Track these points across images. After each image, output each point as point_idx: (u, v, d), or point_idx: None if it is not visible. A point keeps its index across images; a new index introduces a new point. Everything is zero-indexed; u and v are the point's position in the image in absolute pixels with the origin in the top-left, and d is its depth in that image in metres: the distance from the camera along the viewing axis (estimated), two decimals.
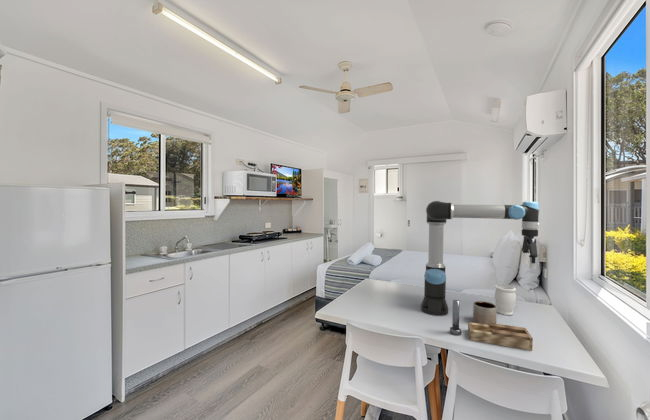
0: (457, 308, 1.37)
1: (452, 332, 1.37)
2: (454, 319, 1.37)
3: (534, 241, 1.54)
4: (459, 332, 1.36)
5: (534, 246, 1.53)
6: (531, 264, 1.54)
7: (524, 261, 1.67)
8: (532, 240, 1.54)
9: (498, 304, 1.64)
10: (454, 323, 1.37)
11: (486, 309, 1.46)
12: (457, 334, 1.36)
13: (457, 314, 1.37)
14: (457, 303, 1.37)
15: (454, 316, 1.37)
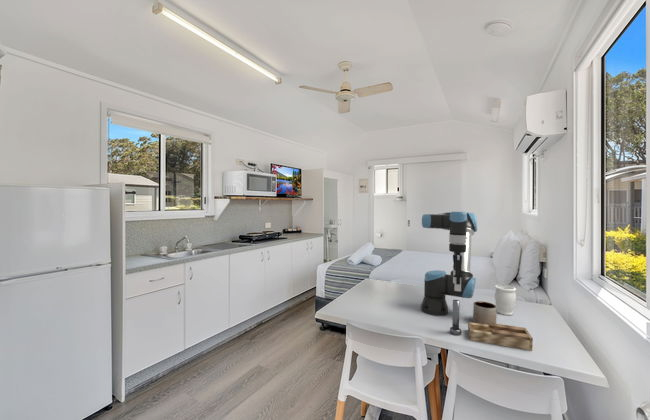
0: (457, 308, 1.37)
1: (452, 332, 1.37)
2: (454, 319, 1.37)
3: (459, 258, 1.31)
4: (459, 332, 1.36)
5: (459, 264, 1.30)
6: (456, 285, 1.31)
7: (454, 280, 1.44)
8: (457, 257, 1.31)
9: (498, 304, 1.64)
10: (454, 323, 1.37)
11: (486, 309, 1.46)
12: (457, 334, 1.36)
13: (457, 314, 1.37)
14: (457, 303, 1.37)
15: (454, 316, 1.37)
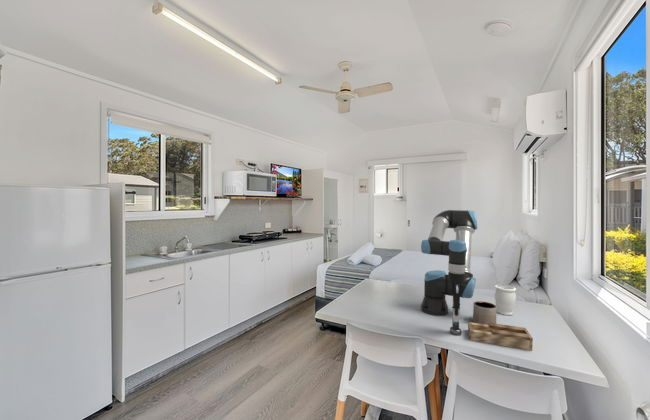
0: None
1: (452, 332, 1.37)
2: None
3: (458, 292, 1.32)
4: (459, 332, 1.36)
5: (457, 297, 1.33)
6: (454, 316, 1.36)
7: None
8: (456, 291, 1.32)
9: (498, 304, 1.64)
10: (454, 323, 1.37)
11: (486, 309, 1.46)
12: (457, 334, 1.36)
13: None
14: None
15: None
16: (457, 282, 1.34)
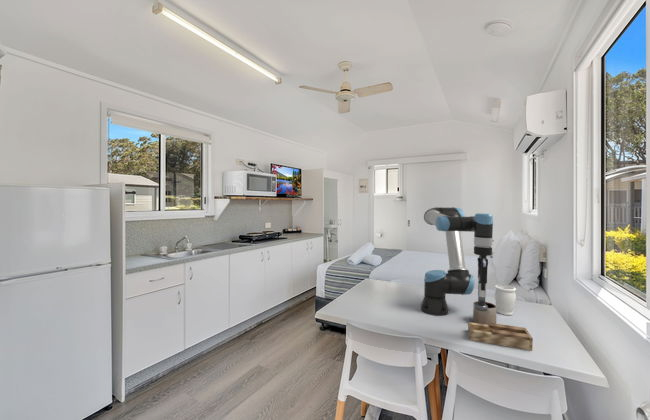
0: None
1: (478, 308, 1.33)
2: None
3: (485, 266, 1.28)
4: (486, 308, 1.32)
5: (485, 271, 1.29)
6: (481, 291, 1.32)
7: None
8: (483, 265, 1.28)
9: (498, 304, 1.64)
10: (480, 299, 1.33)
11: None
12: (484, 310, 1.32)
13: None
14: None
15: None
16: (484, 256, 1.30)
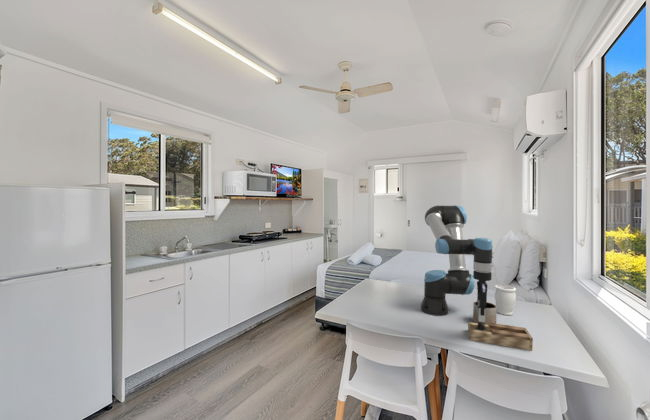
0: None
1: None
2: None
3: (485, 291, 1.28)
4: None
5: (484, 297, 1.29)
6: (480, 316, 1.33)
7: None
8: (483, 290, 1.29)
9: (498, 304, 1.64)
10: (480, 323, 1.34)
11: (486, 309, 1.46)
12: None
13: None
14: None
15: None
16: (483, 281, 1.31)
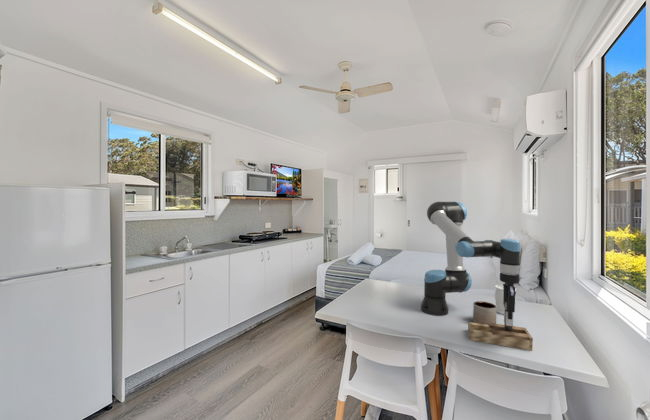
0: None
1: None
2: None
3: (513, 294, 1.24)
4: None
5: (512, 300, 1.25)
6: (507, 320, 1.29)
7: None
8: (511, 293, 1.24)
9: (498, 304, 1.64)
10: (507, 327, 1.29)
11: (486, 309, 1.46)
12: None
13: None
14: None
15: None
16: (511, 284, 1.26)
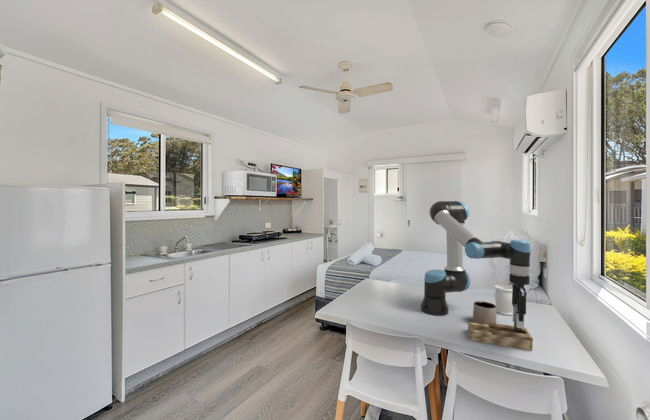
0: None
1: None
2: None
3: (524, 295, 1.23)
4: None
5: (523, 301, 1.23)
6: (518, 322, 1.26)
7: None
8: (521, 294, 1.23)
9: (498, 304, 1.64)
10: (516, 329, 1.28)
11: (486, 309, 1.46)
12: None
13: None
14: None
15: None
16: (521, 285, 1.25)
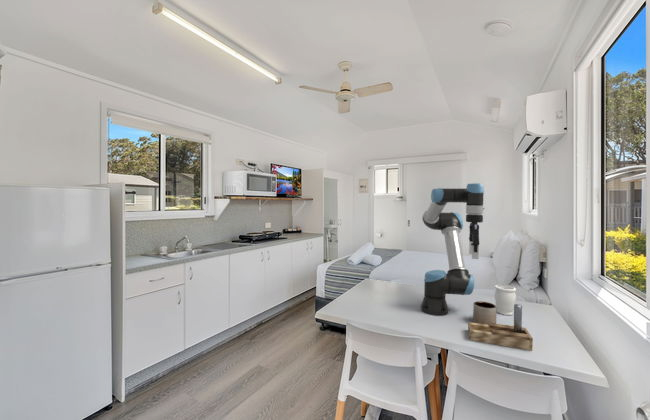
0: (520, 313, 1.28)
1: None
2: (516, 325, 1.28)
3: (477, 227, 1.36)
4: None
5: (476, 233, 1.35)
6: (473, 253, 1.36)
7: (470, 251, 1.49)
8: (474, 226, 1.36)
9: (498, 304, 1.64)
10: (516, 329, 1.28)
11: (486, 309, 1.46)
12: None
13: (520, 320, 1.28)
14: (520, 308, 1.28)
15: (516, 322, 1.28)
16: None
